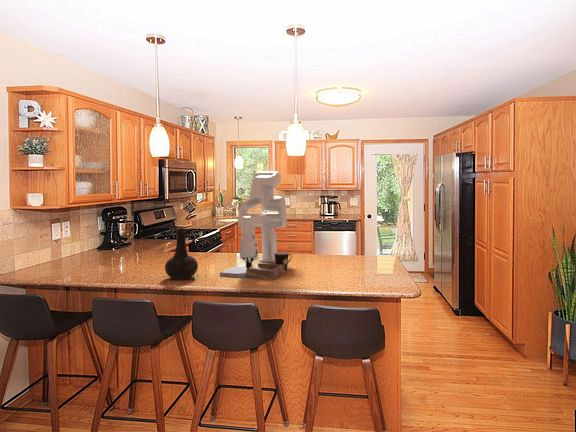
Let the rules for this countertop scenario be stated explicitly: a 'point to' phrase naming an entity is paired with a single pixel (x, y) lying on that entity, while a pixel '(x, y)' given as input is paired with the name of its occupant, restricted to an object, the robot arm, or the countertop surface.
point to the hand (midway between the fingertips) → (249, 269)
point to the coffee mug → (282, 259)
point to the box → (265, 271)
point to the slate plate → (234, 272)
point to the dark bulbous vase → (181, 260)
